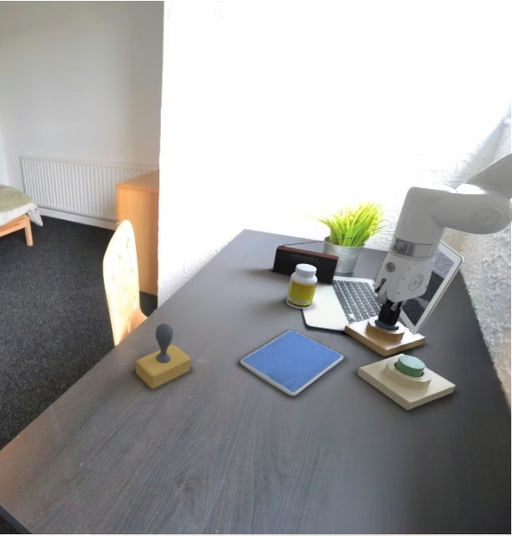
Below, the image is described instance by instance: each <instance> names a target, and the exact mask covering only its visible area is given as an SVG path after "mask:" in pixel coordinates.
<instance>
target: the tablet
mask: <svg viewBox="0 0 512 536" xmlns="http://www.w3.org/2000/svg"><path fill="white" fill-rule="evenodd" d="M343 360H344V355H343V354H341V353H339V352H337V351H335V350H333V349H331V348H329V347H327V346H325V345H323V344H321V343H319V342H317V341H316V340H314V339H312V338H310V337H307V336H305V335H303V334H301V333H299V332H297V331H295V330H293V329H292V330H290V329H289V330H288V331H285V332H284V333H283V334H281V335H279V336H278V337H276V338H274V339H273V340H272V341H270V342H268V343H266V344H265V345H263V346H261V347H260V348H258V349H256V350H254V351H253V352H251V353H250V354H248V355H246V356H244V357H243V358H241V359H240V365H242V366H243V367H244V368H246V369H247V370H249V371H250V372H252V374H254V375H256V376H257V377H259V378H261V379H262V380H264V381H265V382H267V383H269V384H270V385H271V386H273V387H275V388H277V389H279V390H280V391H282V392H283V393H285V394H287V395H289V396H290V397H291V396H292V397H295V396H298V394H300V393H301V392H303V390H305V389H306V388H308V387H309V386H310V385H311V384H312V383H314V382H315V381H317V380H318V379H319V378H321V377H322V376H324V374H326V373H327V372H329V371H330V370H331V369H333V368H334V367H335V366H336V365H338V364H339V363H340V362H342V361H343Z"/></svg>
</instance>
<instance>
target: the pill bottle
mask: <svg viewBox="0 0 512 536" xmlns="http://www.w3.org/2000/svg"><path fill="white" fill-rule="evenodd" d="M295 271H296V272H294V273H293V274H292V275H291V276H290V278H289V284H288V289H287V293H286V294H287V295H286V301H285V302H286V304H287V305H288V306H290V307H292V308H295V309H299V310H307V309H310V308H311V307H312V304H313V301H314V296H315V293H316V288H317V283H318V282H317V278H316V276H315V274H316V268H315V267H314V266H312V265H308V264H298V265H297V266H296V270H295Z"/></svg>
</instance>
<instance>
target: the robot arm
mask: <svg viewBox="0 0 512 536" xmlns="http://www.w3.org/2000/svg"><path fill="white" fill-rule="evenodd" d="M511 199H512V151H510V152H509V153H507V154H505V155H503V156H501V157H499V158H498V159H496V160H495V161H493V162H491V163H490V164H489V165H487V166H485V167H484V168H483V169H481V170H479V172H477V173H476V174H474V175H473V176H472V177H470V178H468V179H466V181H465V182H463V183H461V184H460V185H459V186H458V187H457V188H456V189H454V188H452V187H449V186H446V185H442V184H436V183H435V184H434V183H419V184H414V185H412V186H411V187H409V189H408V190H407V192H406V195H405V198H404V201H403V204H402V208H401V210H400V213H399V216H398V219H397V223H396V225H395V229H394V232H393V234H392V237H391V240H390V244H389V247H388V252H387V255H386V256H385V258H384V260H383V263H382V264H381V267H380V269H379V272H378V275H377V276H376V279H375V283H374V286H373V293H374V294H376V296H375V299H374V302H375V303H377V304H379V305H381V307H380V309H379V312H378V315H377V316H378V319H379V320H381V321H382V322H384V323H386V324H388V325H394V324H396V323H397V321H398V320H399V318H400V315H401V313H402V309H404V308H405V306H406V304H407V301H409V300H412V299H415V298H419V297H421V296H423V295H425V293H426V291H427V289H428V286H429V282H430V279H431V276H432V273H433V269H434V265H435V259H436V253H437V251H438V248H439V246H440V243H441V240H442V238H443V236H444V232H445V230H446V228H448V229H452V230H455V231H458V232H462V233H466V234H471V235H472V234H473V235H491V234H496V233H499V232H501V231H504V230H505V229H506V228H507V227H509V226H510V225H511V224H512V202H511V201H510V200H511ZM398 322H399V321H398Z"/></svg>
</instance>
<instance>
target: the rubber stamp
mask: <svg viewBox="0 0 512 536" xmlns="http://www.w3.org/2000/svg"><path fill="white" fill-rule="evenodd" d="M173 337H174V330H173V327H172V326H171V325H170V324H168V323H165V322H163V323H160V324H158V325H157V326H156V329H155V338H156V342H157V344H158V346H159V350H157V351H155V352H152V353H150V354H148V355H145V356H143V357H141V358H138V359H137V360H136V361H135V374H136V375H137V376H138V377H139V378H140V379H141V380H142V381H143V382H144V383H145V384H146V385H147V386H148V387H149V388H150V389H155V388H157V387H159V386H161V385H164V384H165V383H168V382H170V381H172V380H174V379H176V378H177V377H180V376H182V375H183V374H186V373H188V372H190V365H191V357H190V356H189V355H187V354H186V353H185V352H184V351H183V350H181V349H180V348H179V347H178V346H176V345H175V344H171V343H172V340H173Z"/></svg>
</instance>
